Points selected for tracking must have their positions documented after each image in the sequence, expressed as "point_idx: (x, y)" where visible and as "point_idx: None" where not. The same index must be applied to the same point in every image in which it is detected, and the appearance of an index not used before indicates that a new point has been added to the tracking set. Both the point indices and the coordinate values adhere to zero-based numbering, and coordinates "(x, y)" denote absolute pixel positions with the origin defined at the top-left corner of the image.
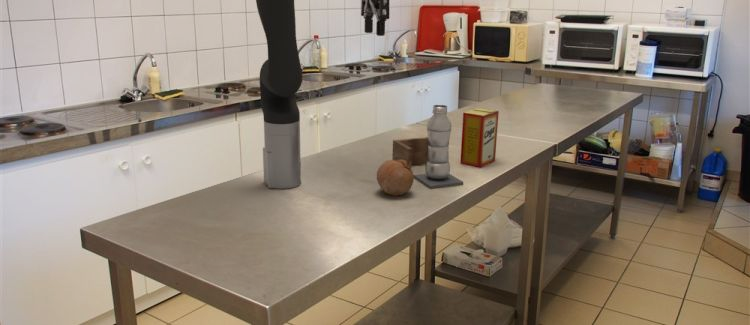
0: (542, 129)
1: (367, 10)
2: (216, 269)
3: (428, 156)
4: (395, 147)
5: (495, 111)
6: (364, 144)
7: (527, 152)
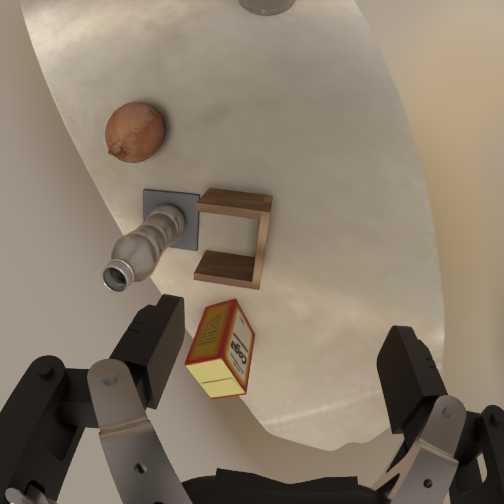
0: (315, 441)
1: (399, 473)
2: None
3: (157, 217)
4: (257, 206)
5: (209, 394)
6: (417, 230)
7: None
